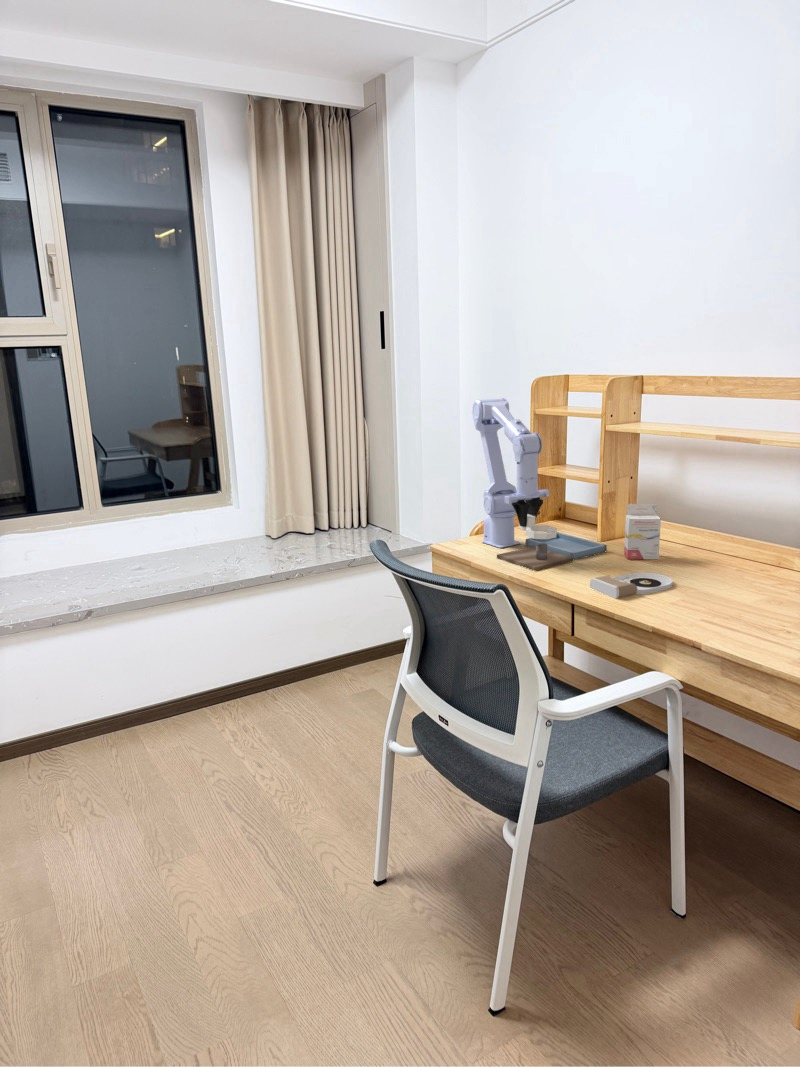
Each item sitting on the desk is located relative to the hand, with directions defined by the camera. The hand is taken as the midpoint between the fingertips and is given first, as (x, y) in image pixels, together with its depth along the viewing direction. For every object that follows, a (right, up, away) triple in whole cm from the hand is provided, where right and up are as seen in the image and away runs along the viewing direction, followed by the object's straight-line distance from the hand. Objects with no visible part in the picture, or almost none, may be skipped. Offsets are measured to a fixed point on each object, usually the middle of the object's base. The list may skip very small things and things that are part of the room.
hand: (527, 525), depth 210 cm
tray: (+13, -7, +10) cm, 17 cm away
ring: (+2, -2, -3) cm, 4 cm away
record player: (+22, -16, -26) cm, 37 cm away
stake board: (+2, -10, 0) cm, 10 cm away
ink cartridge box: (+31, -9, -2) cm, 33 cm away
